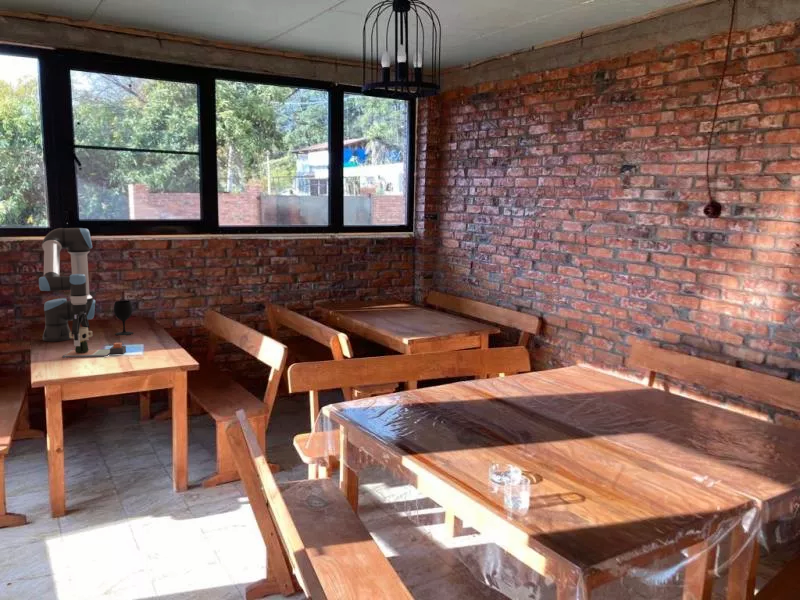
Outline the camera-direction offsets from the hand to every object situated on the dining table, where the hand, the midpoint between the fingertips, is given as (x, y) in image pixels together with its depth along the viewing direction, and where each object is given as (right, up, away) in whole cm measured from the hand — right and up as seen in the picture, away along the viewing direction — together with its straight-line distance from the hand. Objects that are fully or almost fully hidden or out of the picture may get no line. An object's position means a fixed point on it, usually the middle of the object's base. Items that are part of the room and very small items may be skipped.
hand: (81, 343), depth 338 cm
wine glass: (0, +2, +53) cm, 53 cm away
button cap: (+18, -3, +3) cm, 19 cm away
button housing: (+18, -6, +4) cm, 19 cm away
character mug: (0, -5, +1) cm, 5 cm away
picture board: (+3, -6, +1) cm, 7 cm away
